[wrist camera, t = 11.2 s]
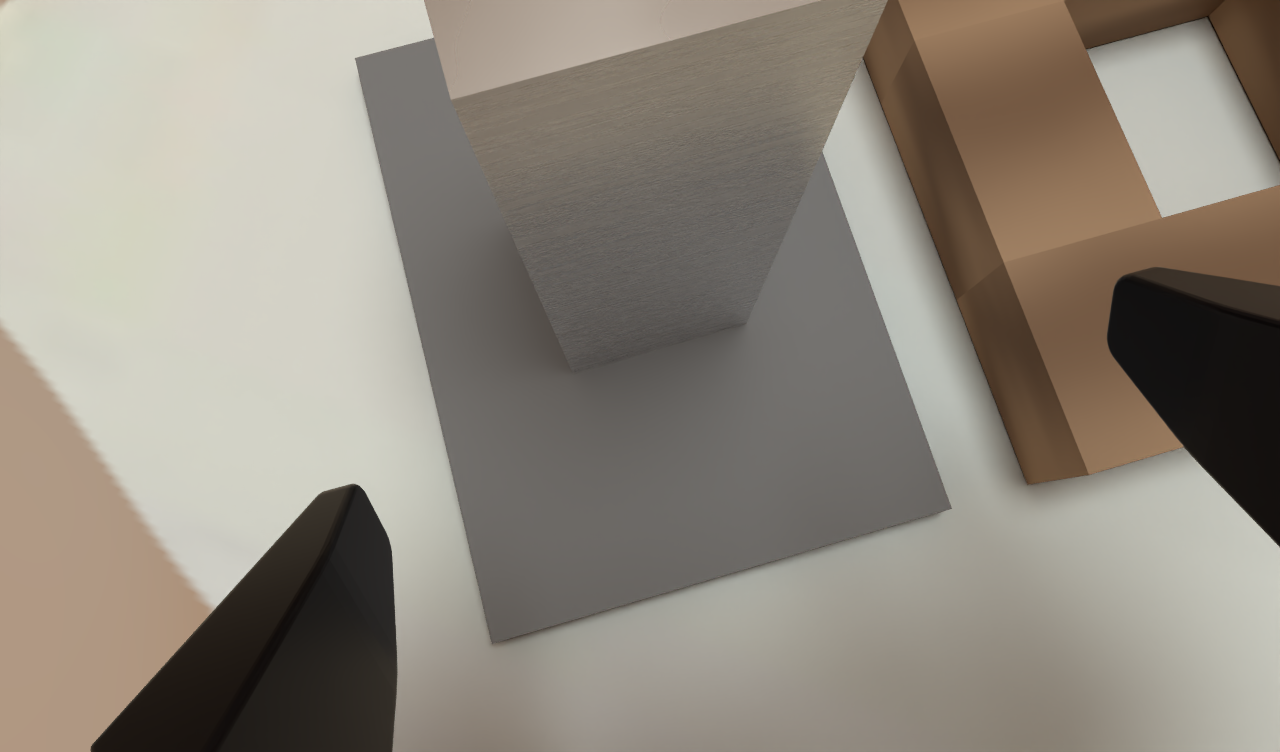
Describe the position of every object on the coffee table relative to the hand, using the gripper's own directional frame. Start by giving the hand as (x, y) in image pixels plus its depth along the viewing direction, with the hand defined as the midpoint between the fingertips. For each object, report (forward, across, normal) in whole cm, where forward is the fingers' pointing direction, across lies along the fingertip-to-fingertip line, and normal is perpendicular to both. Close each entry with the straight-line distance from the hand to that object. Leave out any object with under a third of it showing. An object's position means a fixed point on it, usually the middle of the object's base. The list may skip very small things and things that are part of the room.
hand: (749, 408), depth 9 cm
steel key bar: (+9, 0, +2) cm, 9 cm away
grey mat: (+10, 0, +3) cm, 10 cm away
